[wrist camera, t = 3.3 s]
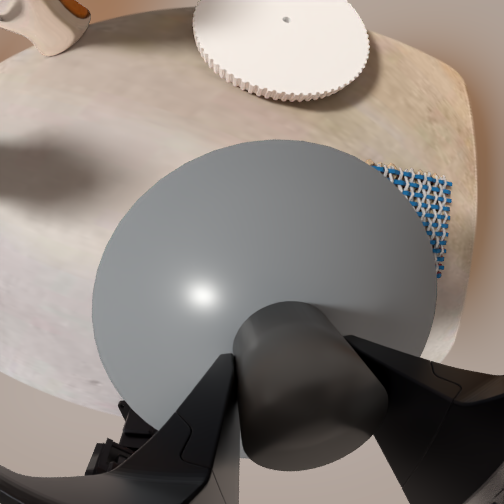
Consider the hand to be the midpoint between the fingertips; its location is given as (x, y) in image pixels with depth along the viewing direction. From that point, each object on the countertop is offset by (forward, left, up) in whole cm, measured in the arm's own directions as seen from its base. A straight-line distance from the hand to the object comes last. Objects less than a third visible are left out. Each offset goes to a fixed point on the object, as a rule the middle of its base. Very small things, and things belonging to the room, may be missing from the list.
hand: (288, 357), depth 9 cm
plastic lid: (+19, -4, -13) cm, 23 cm away
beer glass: (+24, +16, -12) cm, 31 cm away
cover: (0, 0, -1) cm, 1 cm away
